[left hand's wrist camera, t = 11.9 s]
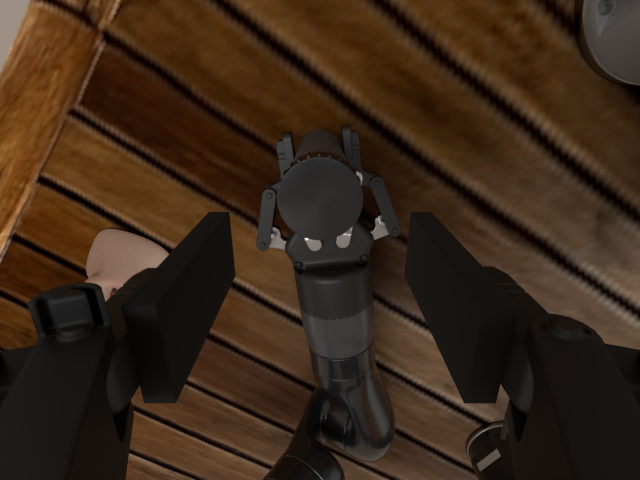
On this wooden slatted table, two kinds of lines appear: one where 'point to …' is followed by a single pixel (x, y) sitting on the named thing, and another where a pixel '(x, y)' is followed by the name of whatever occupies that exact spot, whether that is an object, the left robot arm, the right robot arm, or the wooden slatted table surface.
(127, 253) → the anatomical model
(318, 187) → the lid
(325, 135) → the bottle
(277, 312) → the wooden slatted table surface
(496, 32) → the wooden slatted table surface
